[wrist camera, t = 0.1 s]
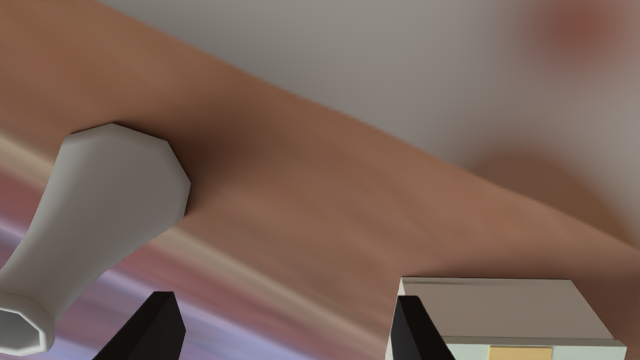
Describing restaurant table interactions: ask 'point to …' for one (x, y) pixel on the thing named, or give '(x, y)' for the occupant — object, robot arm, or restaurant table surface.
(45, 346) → the flask
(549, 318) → the parcel box
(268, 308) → the restaurant table surface
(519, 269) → the restaurant table surface
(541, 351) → the box lid
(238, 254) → the restaurant table surface
